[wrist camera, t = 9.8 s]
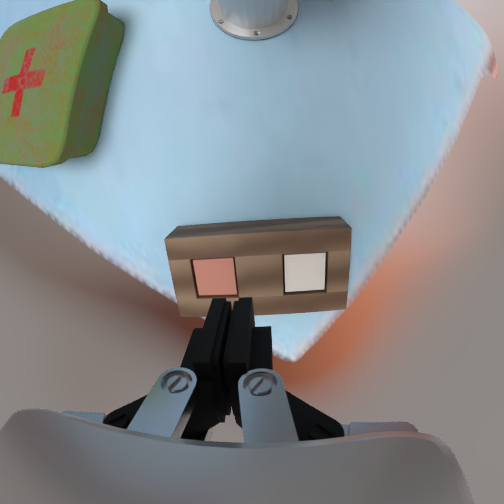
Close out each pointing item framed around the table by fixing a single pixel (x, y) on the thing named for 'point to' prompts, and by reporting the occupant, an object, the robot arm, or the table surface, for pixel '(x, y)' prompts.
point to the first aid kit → (56, 82)
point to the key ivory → (304, 271)
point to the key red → (216, 276)
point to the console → (262, 262)
